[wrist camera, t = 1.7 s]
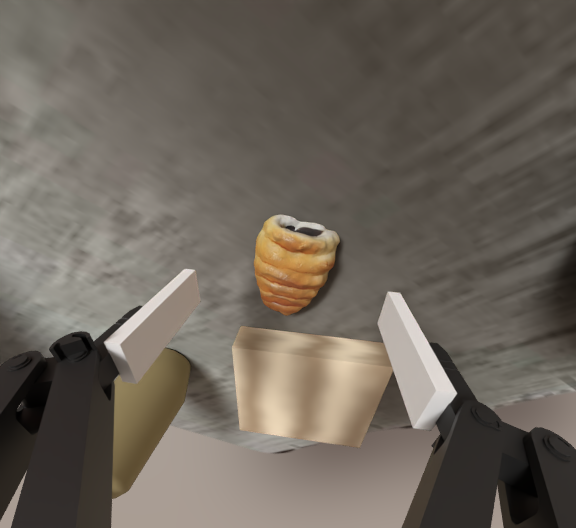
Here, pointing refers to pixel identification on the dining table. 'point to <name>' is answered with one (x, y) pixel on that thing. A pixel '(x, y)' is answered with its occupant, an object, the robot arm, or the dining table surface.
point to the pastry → (292, 262)
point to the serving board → (308, 384)
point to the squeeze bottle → (145, 415)
